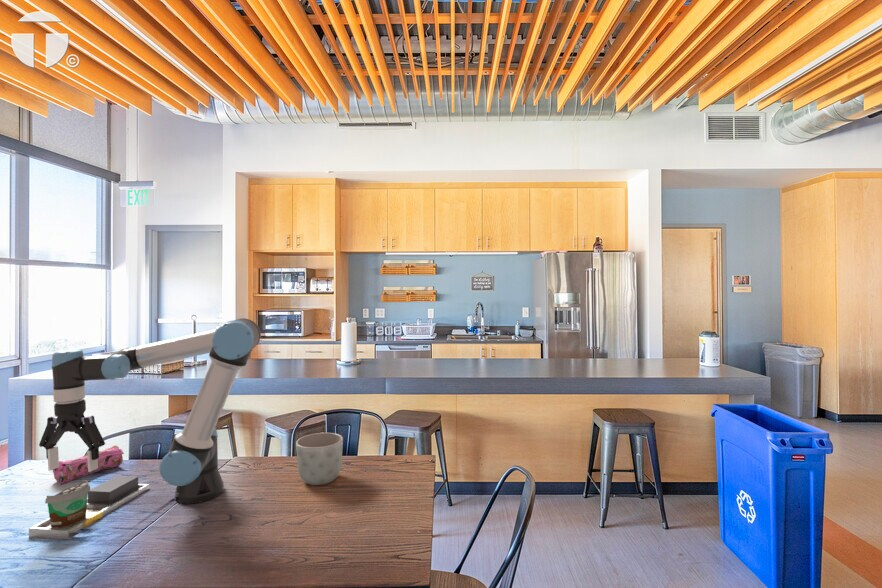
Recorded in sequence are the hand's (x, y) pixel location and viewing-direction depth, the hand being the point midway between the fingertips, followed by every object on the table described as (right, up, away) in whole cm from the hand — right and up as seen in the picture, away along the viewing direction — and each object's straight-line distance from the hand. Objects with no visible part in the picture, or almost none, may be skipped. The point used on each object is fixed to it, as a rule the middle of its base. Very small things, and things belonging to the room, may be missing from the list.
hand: (73, 469), depth 142 cm
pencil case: (-24, -17, +38) cm, 47 cm away
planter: (+68, -16, +30) cm, 76 cm away
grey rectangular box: (+2, -16, +15) cm, 22 cm away
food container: (0, -16, 0) cm, 16 cm away
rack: (+1, -17, +8) cm, 18 cm away
